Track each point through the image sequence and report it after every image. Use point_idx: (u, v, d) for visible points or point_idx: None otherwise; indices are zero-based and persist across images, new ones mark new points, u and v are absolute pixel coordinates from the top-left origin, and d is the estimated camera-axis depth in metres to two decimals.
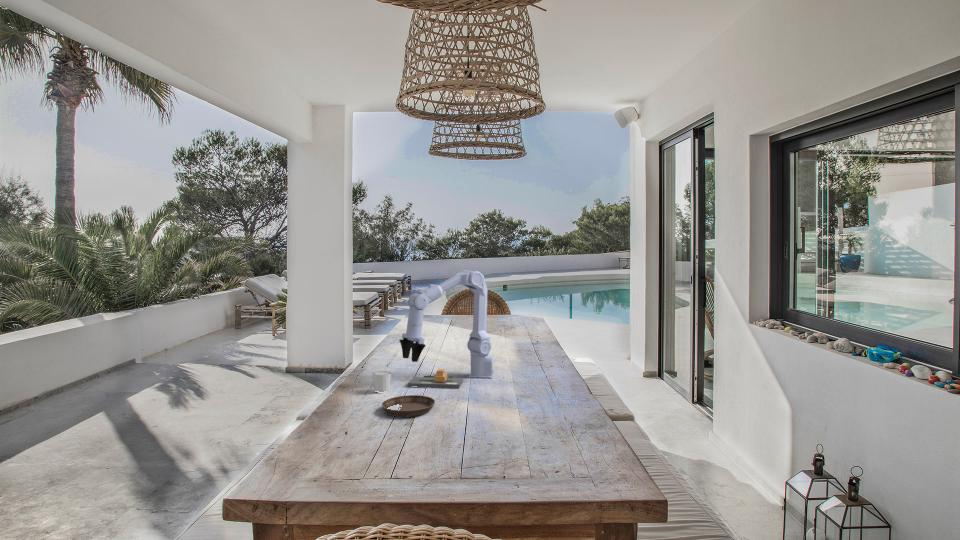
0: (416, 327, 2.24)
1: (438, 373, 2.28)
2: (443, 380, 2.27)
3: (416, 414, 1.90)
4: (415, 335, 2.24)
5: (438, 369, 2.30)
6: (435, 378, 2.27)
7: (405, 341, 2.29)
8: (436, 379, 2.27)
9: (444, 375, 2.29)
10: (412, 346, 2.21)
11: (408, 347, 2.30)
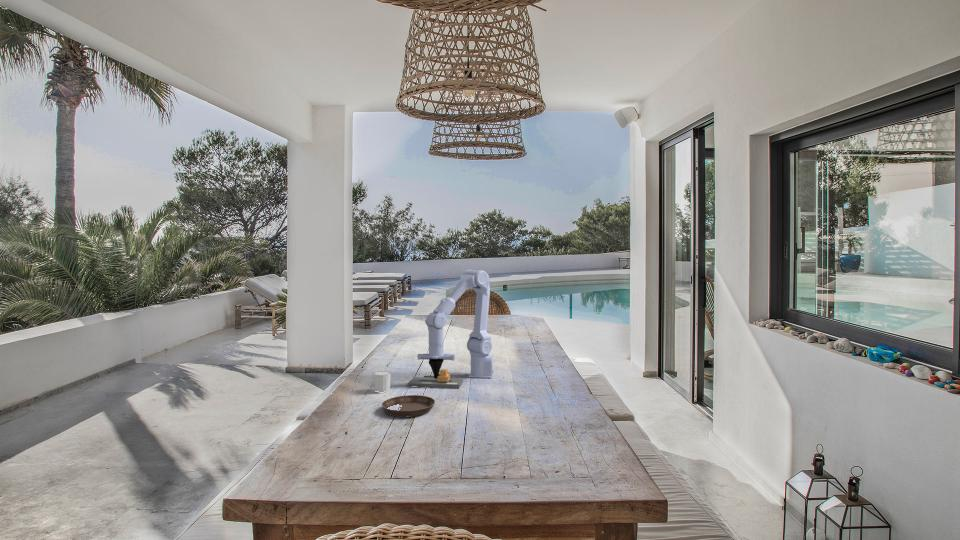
0: (442, 345, 2.28)
1: (441, 373, 2.27)
2: (446, 380, 2.27)
3: (416, 414, 1.90)
4: (442, 353, 2.28)
5: (441, 369, 2.30)
6: (438, 378, 2.27)
7: None
8: (439, 379, 2.27)
9: (447, 375, 2.29)
10: (438, 364, 2.27)
11: None
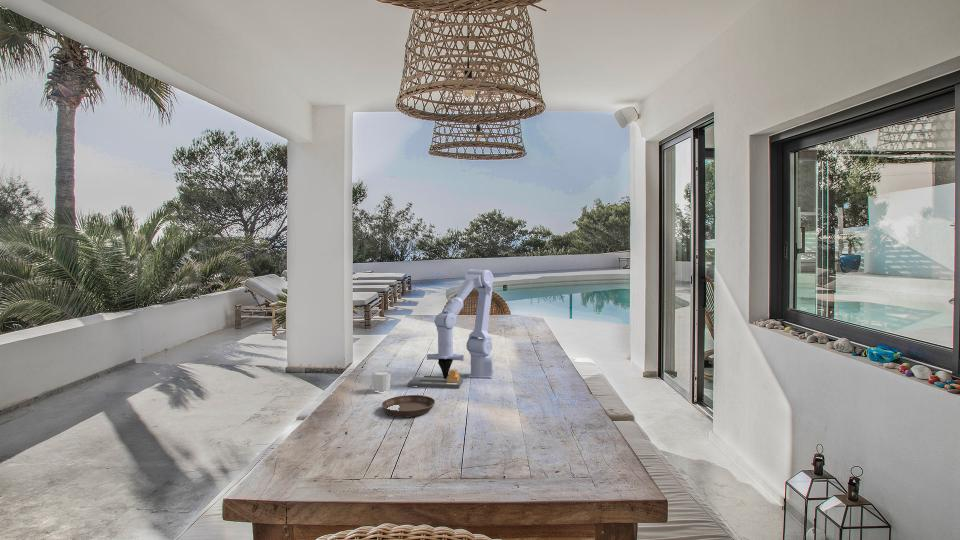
0: (452, 345, 2.27)
1: (451, 374, 2.27)
2: (456, 380, 2.26)
3: (416, 414, 1.90)
4: (452, 353, 2.28)
5: None
6: (448, 378, 2.27)
7: (444, 362, 2.28)
8: (449, 379, 2.26)
9: (456, 375, 2.28)
10: (447, 364, 2.26)
11: None
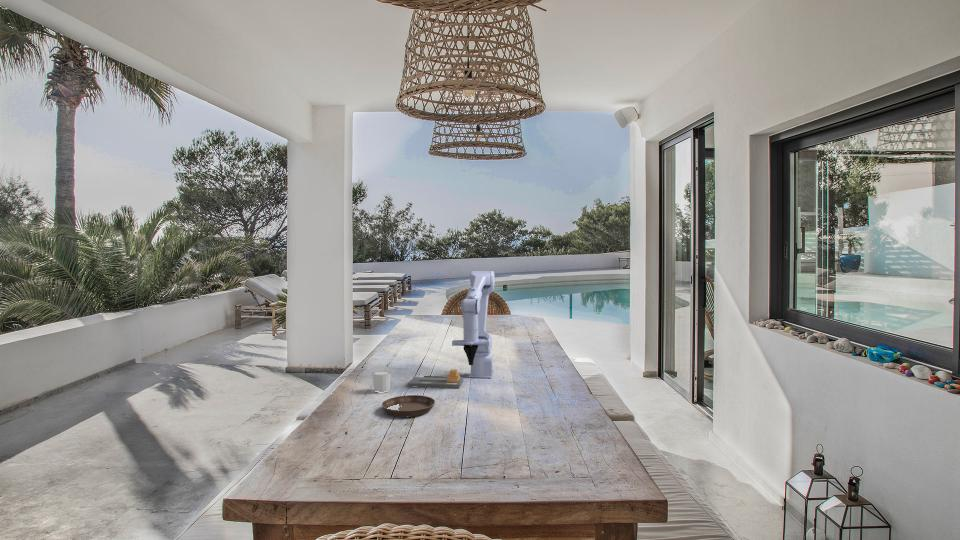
0: (477, 331, 2.26)
1: (451, 374, 2.27)
2: (456, 380, 2.26)
3: (416, 414, 1.90)
4: (477, 339, 2.26)
5: (451, 369, 2.30)
6: (448, 378, 2.27)
7: (469, 348, 2.26)
8: (449, 379, 2.26)
9: (457, 375, 2.28)
10: (473, 350, 2.25)
11: (470, 353, 2.28)
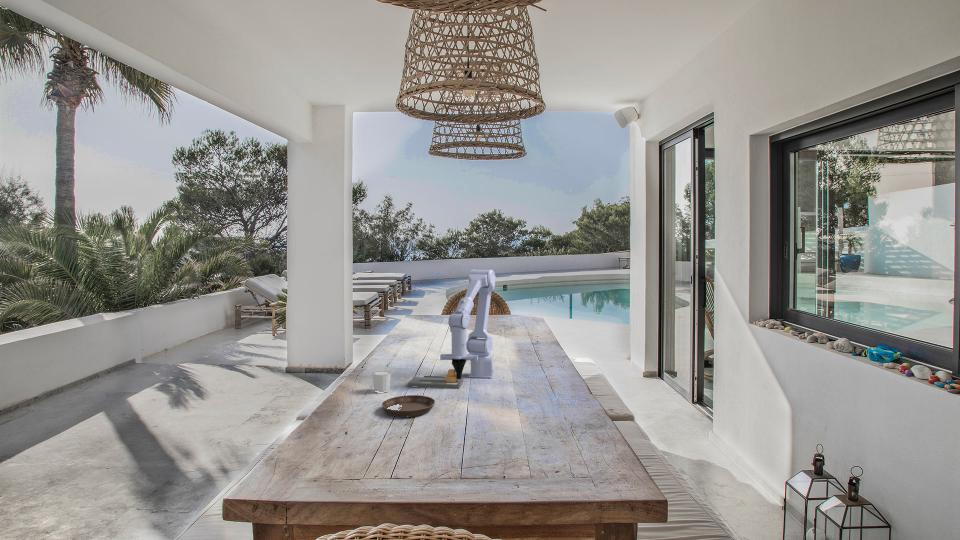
0: (465, 346, 2.27)
1: (449, 374, 2.27)
2: (454, 380, 2.26)
3: (416, 414, 1.90)
4: (465, 354, 2.27)
5: (449, 369, 2.30)
6: (446, 378, 2.27)
7: None
8: (447, 379, 2.27)
9: (455, 375, 2.28)
10: (461, 365, 2.26)
11: None
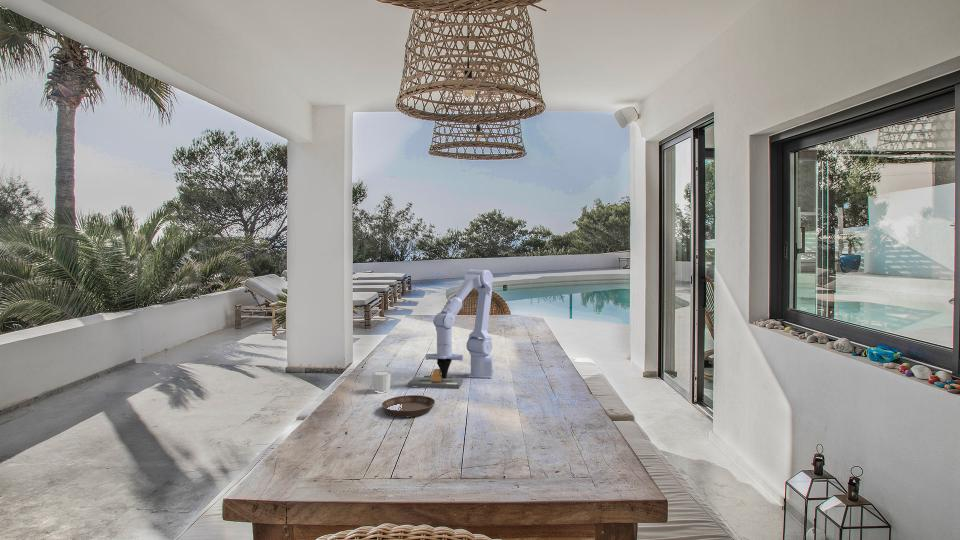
0: (451, 345, 2.27)
1: (434, 373, 2.28)
2: (439, 380, 2.27)
3: (416, 414, 1.90)
4: (451, 353, 2.28)
5: (434, 369, 2.30)
6: (431, 377, 2.27)
7: None
8: (432, 379, 2.27)
9: (440, 375, 2.29)
10: (446, 364, 2.26)
11: None
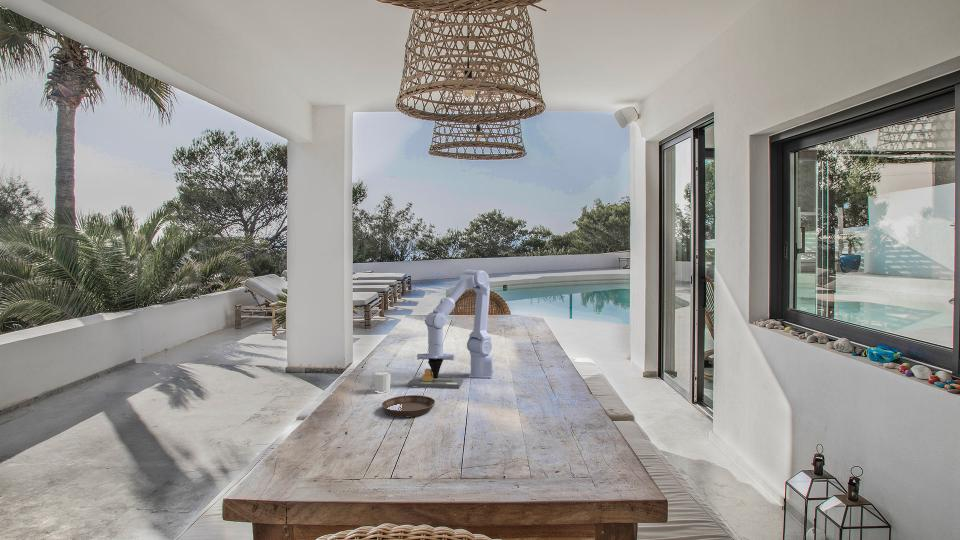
0: (442, 345, 2.28)
1: (426, 373, 2.28)
2: (431, 380, 2.27)
3: (416, 414, 1.90)
4: (442, 353, 2.28)
5: (426, 369, 2.31)
6: (423, 377, 2.28)
7: (434, 362, 2.28)
8: (424, 378, 2.28)
9: (432, 375, 2.29)
10: (437, 364, 2.27)
11: None
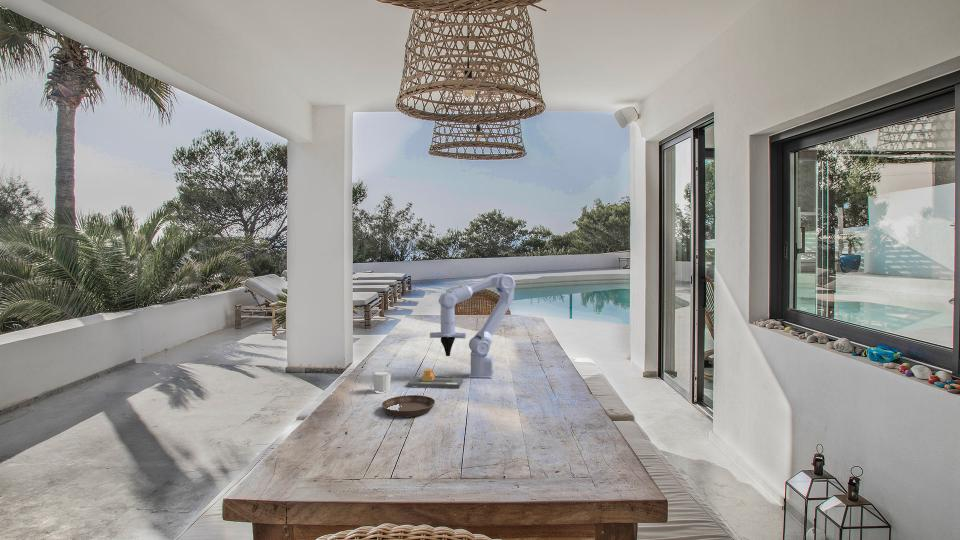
0: (454, 324, 2.37)
1: (426, 373, 2.28)
2: (430, 380, 2.27)
3: (416, 414, 1.90)
4: (454, 332, 2.37)
5: (426, 369, 2.31)
6: (423, 377, 2.28)
7: None
8: (424, 378, 2.28)
9: (431, 375, 2.29)
10: (450, 342, 2.36)
11: (447, 345, 2.39)
